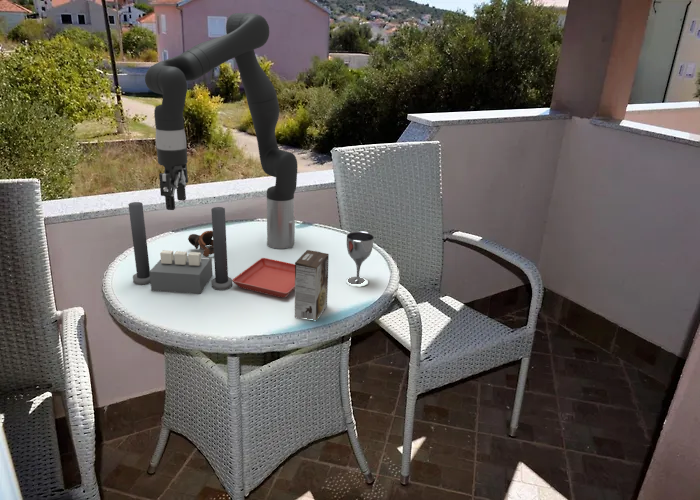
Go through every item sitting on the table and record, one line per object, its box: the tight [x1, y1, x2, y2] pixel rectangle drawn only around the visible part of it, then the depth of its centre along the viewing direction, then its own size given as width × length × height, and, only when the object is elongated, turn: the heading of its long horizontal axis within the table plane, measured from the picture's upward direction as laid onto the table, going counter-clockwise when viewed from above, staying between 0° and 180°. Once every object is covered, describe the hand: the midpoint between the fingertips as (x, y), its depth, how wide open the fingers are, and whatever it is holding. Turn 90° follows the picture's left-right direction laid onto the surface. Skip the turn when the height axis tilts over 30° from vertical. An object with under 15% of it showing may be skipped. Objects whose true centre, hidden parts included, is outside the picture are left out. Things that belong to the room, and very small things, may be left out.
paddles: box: [159, 249, 202, 266], centre depth 149 cm, size 12×2×3 cm, turn 88°
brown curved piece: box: [187, 230, 214, 257], centre depth 172 cm, size 12×10×8 cm
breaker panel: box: [149, 255, 213, 295], centre depth 150 cm, size 14×12×6 cm
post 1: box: [128, 201, 151, 286], centre depth 147 cm, size 6×6×24 cm
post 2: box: [210, 206, 234, 291], centre depth 147 cm, size 6×6×24 cm
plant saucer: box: [232, 257, 295, 298], centre depth 154 cm, size 18×18×3 cm
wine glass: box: [346, 231, 375, 284], centre depth 155 cm, size 8×8×15 cm
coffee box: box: [294, 249, 330, 321], centre depth 137 cm, size 9×6×16 cm
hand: (176, 204), depth 142 cm, fingers open, 8 cm apart
